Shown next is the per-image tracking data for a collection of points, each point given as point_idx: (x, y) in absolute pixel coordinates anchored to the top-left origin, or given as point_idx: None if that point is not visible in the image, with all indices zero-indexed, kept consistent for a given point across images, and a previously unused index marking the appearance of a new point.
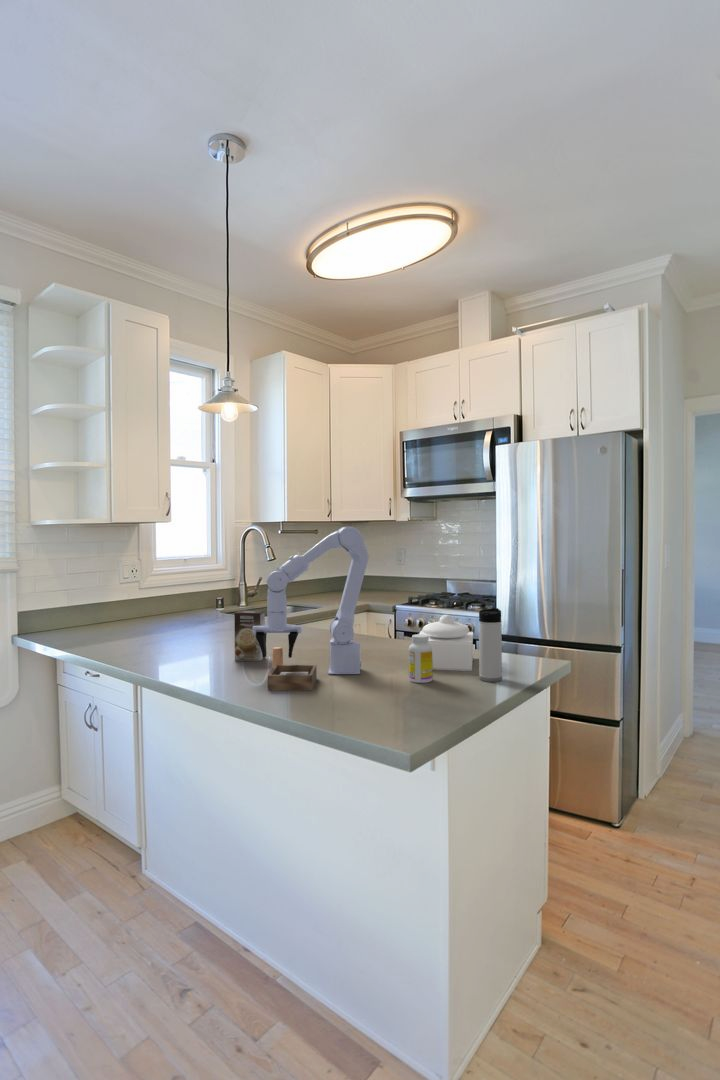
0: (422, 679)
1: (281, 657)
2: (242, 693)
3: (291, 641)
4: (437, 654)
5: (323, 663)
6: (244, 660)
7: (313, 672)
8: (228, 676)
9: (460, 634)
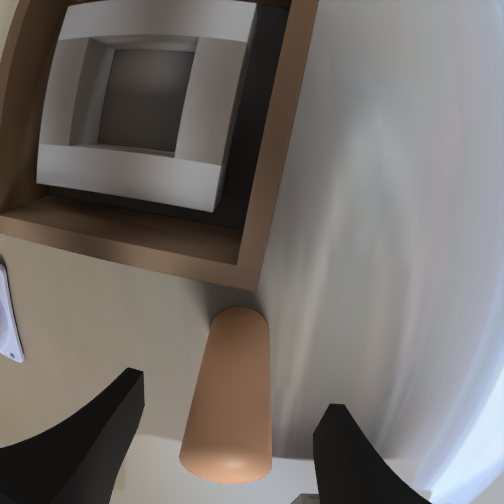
0: None
1: (200, 390)
2: (437, 4)
3: (50, 451)
4: None
5: None
6: None
7: (8, 42)
8: (468, 338)
9: None
